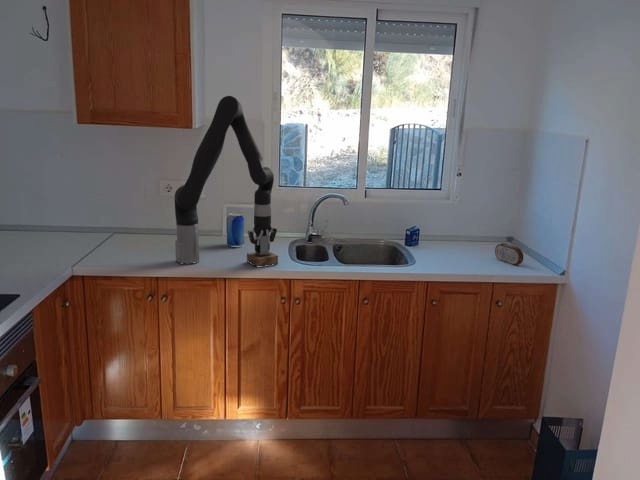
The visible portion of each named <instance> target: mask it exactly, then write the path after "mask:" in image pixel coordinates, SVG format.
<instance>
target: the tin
mask: <svg viewBox="0 0 640 480" xmlns="http://www.w3.org/2000/svg"><path fill="white" fill-rule="evenodd" d="M494 254H495V256H496V258H497V260H498V261H500V262H504V263H505V264H510V265H512V266H517V265H520V264H522V263H523V261H524V253H523V250H522V249H521V248H519V247H518V246H515V245H512V244H508V243H505V242H502V243H499V244H497V245H496V246H495V249H494Z"/></svg>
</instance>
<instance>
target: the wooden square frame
mask: <svg viewBox="0 0 640 480" xmlns="http://www.w3.org/2000/svg"><path fill="white" fill-rule="evenodd" d="M247 261H249V262H251V263H252V264H254V265H256V266H265V265H272V264H278V265H279V255H277V254H275V253H273V252H271V251H269V252H268V256H264V257H258V256H256V252H255V251H254V252H253V251H252V252H248V253H246V262H247ZM272 266H273V265H272Z"/></svg>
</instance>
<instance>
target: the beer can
mask: <svg viewBox="0 0 640 480" xmlns="http://www.w3.org/2000/svg"><path fill="white" fill-rule="evenodd" d="M226 244H227V246H228V245H229V246H242V245H243V246H244V245H245V218H244V216H243V213H241V212H230V213H228V216H227V217H226ZM229 246H228V247H229ZM243 246H242V247H243Z"/></svg>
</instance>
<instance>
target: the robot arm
mask: <svg viewBox="0 0 640 480" xmlns="http://www.w3.org/2000/svg"><path fill="white" fill-rule="evenodd" d="M230 127H231V128H232V130H233V132H234V134H235V137H236V138H237V139H236V141H238V145H239V148H240V151H241V152H242V155H243V157H244V159H245V161H246V165H247V169H248V173H249V176H250V179H251V181H252V183H254V184H255V185H256V186H257V185H258V186H257V187H258V188H257V189H256V190H255V191H254V194H253V198H254V205H253V228H252V229H251V230H247V235H248V238H249V241H250V243H251V244H252V245H254V252H256V253H259V252H260V245H259V244H260V236H264V235H269V240H268V252H270V246H271V243H272V242H274V241H275V238H276V235H277V232H278V229H277V228H275V227H272V204H271V203H272V202H271V199H272V195H271V193H272V190H273V187H274V182H275V180H274V179H275V175H274V172H273V170H272V169H271V167H267V166H264V167H263V166H262V161H263V159H264V158H263V155H262V152H261V150H260V149H259V147H258V144H257V142H256V140H255V138H254V137H253V135H252V133H251V130H250V129H249V127H248V124H247V121H246V119H245V115H244V111H243V105H242V104H241V102H240V101H239V100H238V99H237V98H236V97H234V96H232V95H226V96H224V97H222V98H221V99H220V100H219V102H218V104H217V106H216V109H215V112H214V115H213V118H212V121H211V123H210V125H209V127H208V129H207V130H206V132H205V135H204V137H203V138H202V140H201V142H200V144H199V146H198V148H197V150H196V152H195V155H194V158H193V161H192V164H191V168H190V169H191V170H190V171H189V172H190V173H189V176H188V178H187V180H186V181H185V183H184V184H183V186H180V187H178V188H177V189H176V191H175V193H174V212H175V213H174V214H175V220H176V222H175V223H176V224H175V225H176V226H175V227H176V239H175V261H176V260H177V261H179V262H180V263H193V262H197V261H199V262H200V249H199V248H200V244H199V243H200V242H199V240H200V239H199V235H200V234H199V217H198V210H197V205H198V203H199V202H200V199H201V195H202V192H203V190H204V187H205V184H206V182H207V181H208V179H209V176H210V175H211V173H212V171H213V169H214V168H215V166H216V164H217V162H218V160H219V157H220V155H221V153H222V151H223V147H224V143H225V139H226V135H227V132H228V129H229V128H230ZM257 236H258V237H257ZM177 261H176V262H177Z"/></svg>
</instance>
